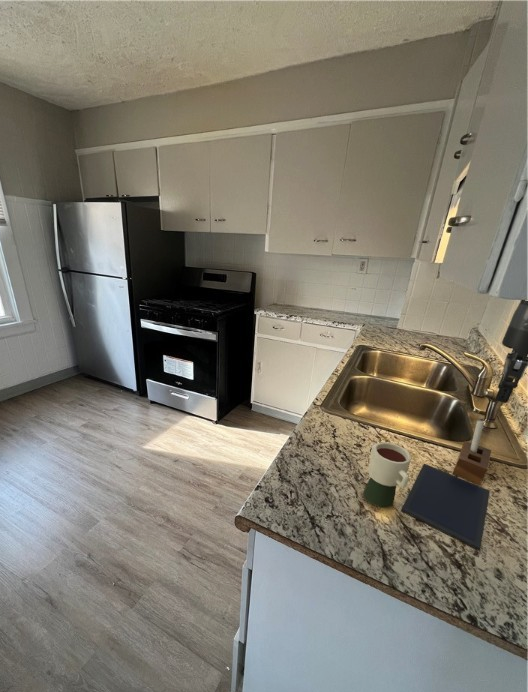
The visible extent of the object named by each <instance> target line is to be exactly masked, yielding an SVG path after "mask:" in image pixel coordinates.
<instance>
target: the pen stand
mask: <svg viewBox="0 0 528 692" xmlns="http://www.w3.org/2000/svg"><path fill="white" fill-rule="evenodd" d="M471 444H472V442H469V441H466V440H464V441H463V444H462V447H461V449H460V451H459V453H458V456H457V459H456V462H455V465H454V468H453V470H452V473H451V475H453V476H456V477H458V478H461V479H463V480H465V481H468V482H470V483H473V484H475V485H478V486H481V484H482V482H483V480H484V479H485V476H486V474H487V472H488V469H489V464H490V459H491V454H492V449H490V448H486V447H483V446H481V445H478V449H477V453H475V452H473V451H470V448H471Z"/></svg>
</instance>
